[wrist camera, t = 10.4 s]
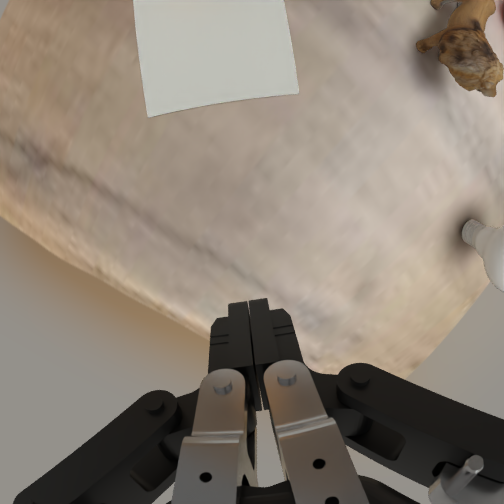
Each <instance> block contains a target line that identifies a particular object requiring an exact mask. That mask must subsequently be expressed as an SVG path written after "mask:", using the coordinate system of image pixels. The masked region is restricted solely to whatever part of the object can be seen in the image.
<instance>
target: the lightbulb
mask: <svg viewBox="0 0 504 504" xmlns="http://www.w3.org/2000/svg"><path fill="white" fill-rule="evenodd" d="M462 239H463V240H464V241H465V242H466V243H467V244H469V245H470V246H472V247H473V248H475V249H476V251H477V253H478V254H479V255H480V257H481V258H482V259H483V263H484V267H485V271H486V274H487V276H488V278H489V280H490V281H491V282H492V284H493V285H494V286H495V287H496V288H497V289H499V290H500V291H503V292H504V226H502V227H499V228H495V227H491V226H485V225H483V224H481V223H479V222H478V221H476V220H474V219H471V220H469V221H467V222H466V224H465V225H464V227H463V229H462Z"/></svg>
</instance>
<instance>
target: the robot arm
mask: <svg viewBox="0 0 504 504" xmlns="http://www.w3.org/2000/svg"><path fill="white" fill-rule="evenodd" d="M249 310H250V314H249ZM210 337H211V338H210V351H209V365H208V366H209V367H208V375H207V376H206V377H204V379H203V380H202V382H201V385H200V388H199V389H197V390H196V391H194V392H192V393H189V394H186V395H183V396H180V397H177V398H175V396H174V395H173V394H172V393H170V392H168V391H164V390H155V391H151V392H149V393H146V394H145V395H143V396H142V397H141V398H139V399H138V400H137V401H136V402H135V403H133V404H132V405H131V406H130V407H129V408H127V409H126V410H125V411H124V412H123V413H121V414H120V415H119V416H118V417H117V418H115V419H114V420H113V421H112V422H110V423H109V424H108V425H107V426H105V427H104V428H103V429H102V430H101V431H100V432H98V433H97V434H96V435H94V436H93V437H92V438H91V439H89V440H88V441H87V442H86V443H84V444H83V445H82V446H81V447H79V448H78V449H77V450H76V451H74V452H73V453H72V454H71V455H69V456H68V457H67V458H65V459H64V460H63V461H61V462H60V463H59V464H58V465H56V466H55V467H54V468H52V469H51V470H50V471H48V472H47V473H46V474H44V475H43V476H42V477H40V478H39V479H38V480H37V481H35V482H34V483H32V484H31V485H30V486H28V487H27V488H26V489H24V490H23V491H22V492H21V493H19V494H18V495H17V496H16V498H15V500H14V502H13V504H152V503H153V502H154V501H155V500H156V499H157V498H158V497H159V496H160V495H161V494H162V493H163V492H164V491H165V490H167V489H168V488H169V487H170V486H171V485H172V484H173V483H174V482H175V484H174V490H173V496H172V500H171V501H169V502H168V503H166V504H420V503H418V502H416V501H414V500H412V499H410V498H409V497H407V496H405V495H403V494H401V493H399V492H397V491H396V490H394V489H392V488H390V487H388V486H387V485H385V484H383V483H381V482H379V481H377V480H375V479H372V478H369V477H365V476H360V475H358V474H357V472H356V470H355V467H354V465H353V462H352V460H351V458H350V455H349V453H348V450H347V448H346V445H347V446H349V447H350V448H352V449H354V450H356V451H358V452H359V453H361V454H363V455H365V456H367V457H368V458H370V459H372V460H374V461H376V462H377V463H379V464H381V465H383V466H385V467H387V468H389V469H391V470H393V471H395V472H397V473H399V474H401V475H403V476H405V477H407V478H409V479H411V480H413V481H415V482H418V483H419V484H422V485H424V486H426V487H428V488H429V491H428V496H429V499H430V502H431V503H432V504H504V420H503V419H501V418H498V417H495V416H493V415H490V414H487V413H485V412H482V411H479V410H477V409H474V408H472V407H469V406H467V405H464V404H461V403H459V402H457V401H454V400H452V399H449V398H447V397H444V396H442V395H439V394H437V393H435V392H432V391H430V390H427V389H425V388H423V387H420V386H418V385H416V384H413V383H411V382H408V381H406V380H404V379H402V378H400V377H397V376H395V375H393V374H390V373H388V372H386V371H384V370H381V369H379V368H377V367H375V366H373V365H370V364H366V363H355V364H351V365H348V366H346V367H345V368H343V369H342V370H341V371H340V372H339V374H338V375H332V374H321V373H317V372H314V371H312V370H311V369H309V368H308V367H307V366H306V365H305V363H304V361H303V358H302V355H301V351H300V348H299V344H298V341H297V337H296V334H295V330H294V327H293V323H292V320H291V316H290V315H289V314H288V313H287V312H286V311H285V310H284V309H283V308H282V309H276V310H269V305H268V300H267V298H263V299H257V300H250V301H249V308H248V303H247V301H244V302H237V303H230V304H229V305H228V317H222V318H217V319H216V320H215V322H214V323H213V325H212V326H211V335H210ZM260 391H261V396H260ZM261 397H262V402H263V407H264V410H267V409H269V412H270V418H271V423H272V428H273V433H274V437H275V441H276V445H277V449H278V454H279V458H280V461H281V466H282V469H283V474H284V479H285V481H284V482H281V483H278V484H276V485H273V486H270V487H265V488H264V487H258V480H257V428H256V425H257V420H256V411H261V410H262V406H261V405H262V404H261Z"/></svg>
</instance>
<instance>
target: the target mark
mask: <svg viewBox="0 0 504 504" xmlns="http://www.w3.org/2000/svg"><path fill="white" fill-rule="evenodd" d="M133 4H134V15H135V26H136V35H137V44H138V53H139V61H140V68H141V76H142V83H143V90H144V96H145V103H146V109H147V115H148V118H150V117H154V116H158V115H162V114H167V113H171V112H176V111H181V110H186V109H191V108H196V107H201V106H207V105H212V104H218V103H225V102H231V101H238V100H245V99H253V98H262V97H271V96H281V95H292V94H299V88H298V81H297V74H296V67H295V61H294V55H293V49H292V43H291V37H290V31H289V25H288V20H287V14H286V9H285V4H284V0H133Z"/></svg>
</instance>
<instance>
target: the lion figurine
mask: <svg viewBox="0 0 504 504" xmlns="http://www.w3.org/2000/svg"><path fill="white" fill-rule="evenodd" d="M449 2H459V3H458V8H457V9H456V10H455V11H454V12H453V13H452V15H451V16H450V18H449V21H448V25H447V28H446V29H445V30H442V31H441V32H439V33H437V34H435V35H433V36H431V37H429V38H426V39H423V40H420V41H418V42H417V43H416V47H417V49H418V50H419V51H420V52H422V53H425V52H426V51H427V50H430V49H431V48H432V47H433V46H438V48H439V49H440V52H439V55H438V59H439V61H440V62H441V63H442V64H445V65H446V66H447V67H448V68H449V71H450V73H451V74H452V76H453V77H454V78H455V81H456V82H457V83H458V84H459V85H460V86H462V87H463V88H464V89H466V90H468V91H471V90H475V89H476V90H477V91H480V92H482V94H483V95H484V96H488V97H495V96H496V85H497V83H498V82H500V80H502V79H503V70H504V68H503V64H502V63H500V62H499V59H498V58H497V55H496V54H495V53H494V52H493V50H492V48H491V46H490V45H489V43H488V41H487V39H486V38H485V33H484V30H485V25H486V21H487V19H488V17H489V16H490V15H492V14H493V13H494V12H495V10H496V6H495V2H494V0H431V5H432V6H433V7H434V8H435V9H440V8H441V7H442V6H443V5H444V4H446V3H449Z"/></svg>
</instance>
